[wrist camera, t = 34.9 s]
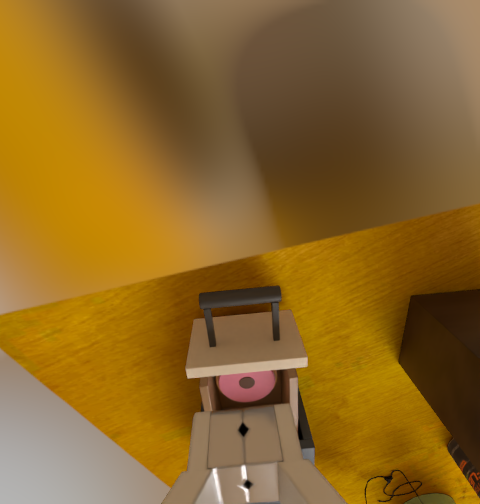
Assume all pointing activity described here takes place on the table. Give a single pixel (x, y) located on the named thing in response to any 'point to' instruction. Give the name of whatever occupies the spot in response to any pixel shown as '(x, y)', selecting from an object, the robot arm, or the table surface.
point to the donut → (247, 385)
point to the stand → (447, 361)
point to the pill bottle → (465, 465)
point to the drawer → (246, 348)
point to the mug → (432, 499)
